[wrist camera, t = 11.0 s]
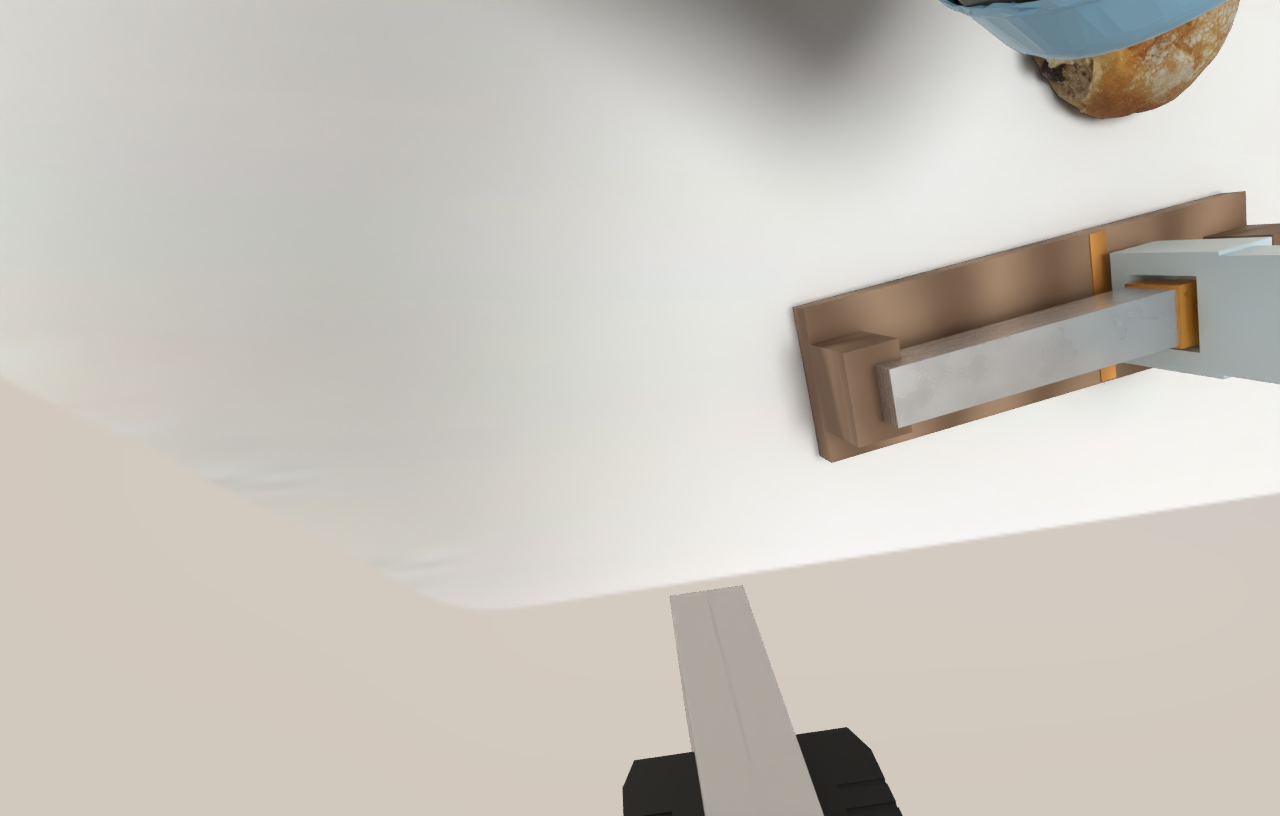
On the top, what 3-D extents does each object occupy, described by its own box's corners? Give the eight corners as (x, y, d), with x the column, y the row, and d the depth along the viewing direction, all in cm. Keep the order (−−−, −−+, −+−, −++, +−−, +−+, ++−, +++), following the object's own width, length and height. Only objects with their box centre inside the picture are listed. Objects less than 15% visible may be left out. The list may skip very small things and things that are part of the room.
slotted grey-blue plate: (1117, 361, 42) (1422, 411, 28) (1109, 253, 40) (1427, 248, 26) (1162, 348, 42) (1485, 391, 28) (1155, 240, 40) (1493, 229, 26)
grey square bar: (867, 417, 38) (900, 431, 34) (857, 357, 37) (890, 367, 34) (1267, 301, 41) (1331, 305, 37) (1266, 244, 40) (1331, 243, 37)
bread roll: (1083, 138, 45) (1241, 123, 38) (999, 105, 39) (1170, 81, 33) (1115, -33, 43) (1286, -79, 37) (1032, -95, 37) (1220, -163, 31)
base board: (820, 455, 42) (864, 483, 37) (792, 307, 40) (835, 314, 34) (1226, 336, 45) (1321, 346, 40) (1220, 193, 43) (1320, 183, 38)
